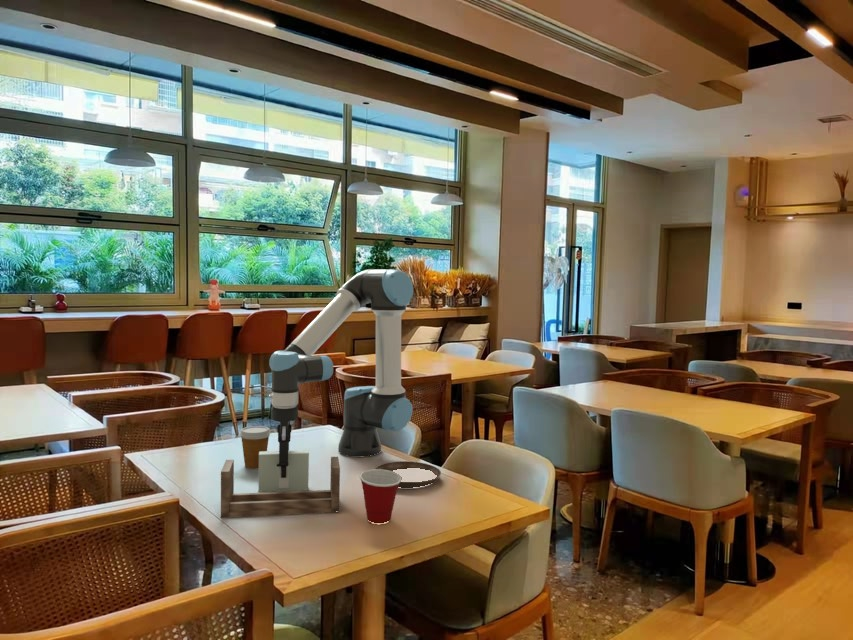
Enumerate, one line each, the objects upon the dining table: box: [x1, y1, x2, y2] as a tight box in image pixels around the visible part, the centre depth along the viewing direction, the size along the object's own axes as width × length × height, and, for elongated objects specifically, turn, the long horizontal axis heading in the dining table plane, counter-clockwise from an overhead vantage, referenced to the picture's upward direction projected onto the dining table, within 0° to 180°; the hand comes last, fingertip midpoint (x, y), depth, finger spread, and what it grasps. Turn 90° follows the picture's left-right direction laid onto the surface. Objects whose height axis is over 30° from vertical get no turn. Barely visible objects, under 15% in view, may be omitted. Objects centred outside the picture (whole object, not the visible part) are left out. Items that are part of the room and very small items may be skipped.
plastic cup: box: [359, 468, 402, 523], centre depth 156 cm, size 11×11×12 cm
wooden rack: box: [220, 456, 341, 518], centre depth 163 cm, size 30×10×12 cm, turn 101°
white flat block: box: [257, 449, 310, 493], centre depth 177 cm, size 14×3×11 cm, turn 101°
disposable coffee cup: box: [239, 425, 271, 470], centre depth 197 cm, size 10×10×12 cm
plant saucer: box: [374, 460, 442, 488], centre depth 188 cm, size 21×21×3 cm
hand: (283, 485), depth 177 cm, fingers closed on white flat block, 3 cm apart
